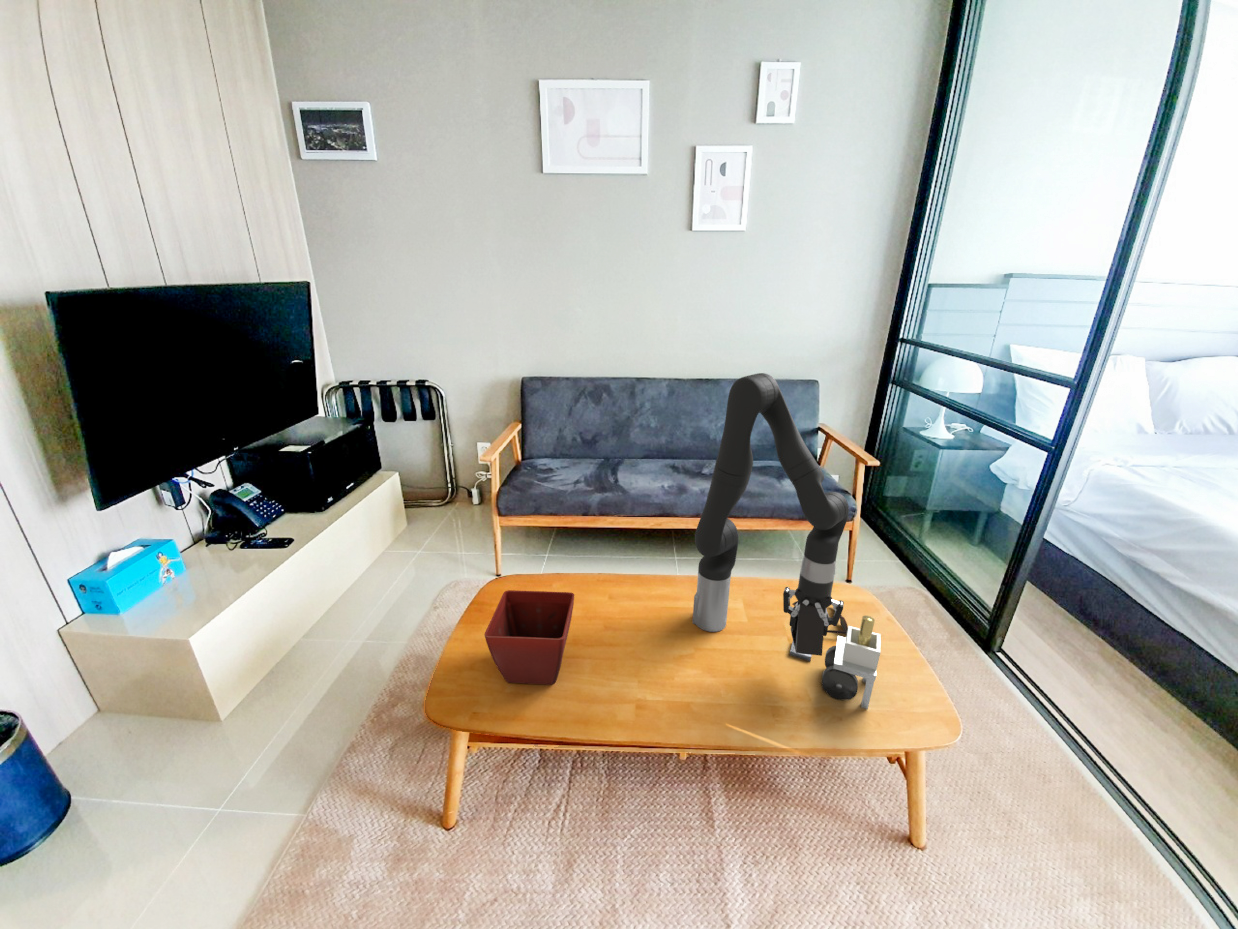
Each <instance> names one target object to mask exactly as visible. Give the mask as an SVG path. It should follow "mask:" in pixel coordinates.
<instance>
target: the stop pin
mask: <svg viewBox="0 0 1238 929" xmlns="http://www.w3.org/2000/svg"><path fill="white" fill-rule="evenodd" d="M875 621H876V620H875V618H874V617H873V616H870V615H863V616H862V618H861V623H860V632H859V636H858V641H857V644H859V645H863V646H866V647H869V644H870V639H871V635H872V632H873V631H874V630H873V629H874V626H875V625H874V624H875Z"/></svg>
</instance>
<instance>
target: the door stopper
mask: <svg viewBox="0 0 1238 929" xmlns="http://www.w3.org/2000/svg"><path fill="white" fill-rule="evenodd" d="M799 604H800V610H799V611H798V614H797V615H796V616H797V617H796V625H795V630H794V629H792V627H791V626H790V633H791V637H792V638H791V639H792V642H794V646H795V651H796V653H802V654H811V655H812V656H823V648H824V646H823V645H824V636H823V634H824V621H823V620H822V619H821V618H820V616H819V613H818V611H817V609H816V606H815V605H813V604H811V603H809V604H808V605H807V606H806V605H804V604H803V603H802V602H800V603H799V602H798V605H799ZM823 611H824V613H826V609H823Z"/></svg>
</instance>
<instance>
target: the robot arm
mask: <svg viewBox="0 0 1238 929" xmlns="http://www.w3.org/2000/svg"><path fill="white" fill-rule="evenodd" d="M725 412H726V413H725V421H724V425H723V426H724V427H723V432H722V437H721V440H720V443H719V448H718V454H717V457H716V460H715V465H714V468H713V472H712V477H711V482H710V486H709V489H708V494H707V497H706V501H705V505H704V508H703V511H702V513H701V517H700V519H699V520H698V524H697V527H696V529H695V532H694V533H695V535H694V542H695V548H696V549H697V551H698V553H699V554H700V555H702V557H701V558H700V560H699V563H698V567H697V568H698V569H697V571H698V572H697V580H696V581H697V583H696V584H697V585H696V592H695V594H694V595H693V596H694V597H693V610H692V611H693V612H692V622H691V623H692V624H693V625H696V626H697V627H698V628H699V629H700V630H702V631H706V632H710V633H717V632H721V631H722V630H724V629H725V628H726V626H727V618H728V610H729V607H728V606H729V599H730V598H729V596H730V587H731V579H732V578H731V577H732V570H733V569H734V568H735V567H734V566H735V564H736V560H737V554H738V548H739V532H738V529H737V526H736V524H735V523H734V522H733V521H732V520H731V519H729V516H730V513H732V511H733V509H734V508H735V507H736V505H737V504H738V503H739V501H740V500H741V498H742V496H743V495H744V493H745V492H746V490H747V488H748V484H749V481H750V478H751V475H752V471H753V468H754V467H753V466H754V456H753V455H754V454H753V451H752V445H751V436H752V432H753V428H754V426H755V422H756V419H757V417H758V415H759V414H760V415H761V416H762V417H763V418H764V420H765V421H766V422H767V424H768V426H769V429H770V430H771V433H772V436H773V439H774V440H773V441H774V445H775V449H776V453H777V454H776V455H777V458H778V460H779V464H780V466H781V467H782V469H783V471H784V472H785V474H786V476H787V478H788V479H789V481H790V482H791V484H792V485H793V487H794V489H795V493H796V496H797V499H798V503H799V506H800V509H801V511H802V513H803V516H804V517H805V519H806V520H807V522H808V523H809V524H810V525H811V526H812V529H811V530H810V532H809V533H808V534H807V537H806V538H805V539H806V540H805V545H804V551H803V552H804V553H803V557H802V560H801V565H800V573H799V578H798V585H797V588H796V589H791V588H790V587H789V586H785V587H784V590H783V593H782V595H783V596H782V600H783V604H782V605H783V606H782V607H783V613H785V614H789V616H790V617H789V623H788V624H789V627H790V628H791V627H792V629H794V630H795V625H796V617H797V616H796V615H797V614H798V611H799V610H800V604H799V605H798V602H799V603H800V602H802V603H803V604H804V605H806V606H807V605H808V604H809V603H811V604H813V605H815V606H816V609H817V611H818V613H819V616H820V618H821V619H822V620H823V621H824V634H823V637H827V634H828V633H827V631H828V630H829V626H833V627H837V626H838V623H839V622H840V616H841V615H842V613H843V610H844V604H845V602H844V600H835V599H833V597H832V592H833V586H834V579H835V576H836V569H837V568H836V563H837V555H838V549H839V542H840V541H841V540H840V539H841V537H842V536H843V532H844V530H845V527H846V525H847V524H846V523H847V521H848V517H849V512H850V509H849V503H848V501H847V499H846V497H845V496H844V495H842V493H840V492H837V491H829V492H828V491H827V492H825V490H824V487H823V485H822V484H823V481H824V480H825V476H824V472H823V471H822V469H821V467H820V466H819V464H818V462H817V461H816V459H815V458H814V455H813V454H812V453H811V451H810V450H809V448H808V447H807V444H806V442H805V441H804V440H803V438H802V435H801V433H800V431H799V430H798V427H797V425H796V423H795V421H794V418H793V416H792V414H791V411H790V410H789V407H788V405H787V402H786V400H785V397H784V395H783V392H782V390H781V389H780V386H779V384H778V382H777V380H776V379H775V378H774V377H773V376H771V375H770V374H768V373H765V372H761V373H760V372H759V373H758V372H757V373H754V374H750V375H745V376H741V377H740V378H738V379H736V380H735V381H734V382H733V384H732V385H731V387H730V390H729V393H728V396H727V405H726V411H725ZM794 596H795V598H796V600H797V601H798V602H797V604H794V606H793V607H792V606H791V599H792V598H793V597H794ZM830 606H832V610H834V612H833V616H831V617H830V616H829V613H828V610H827V608H829V607H830ZM823 609H826V613H824V611H823Z"/></svg>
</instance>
